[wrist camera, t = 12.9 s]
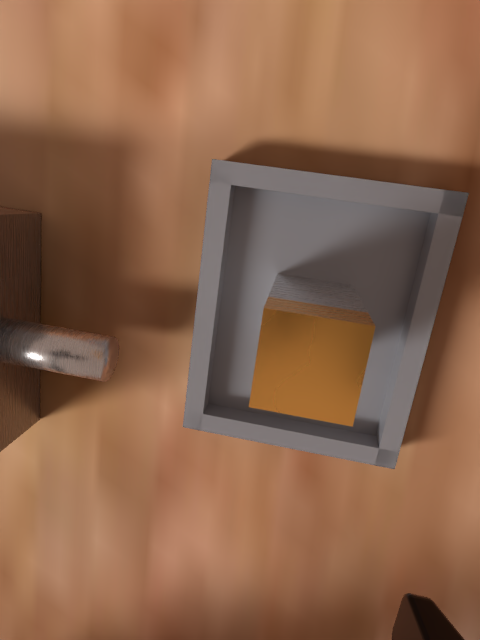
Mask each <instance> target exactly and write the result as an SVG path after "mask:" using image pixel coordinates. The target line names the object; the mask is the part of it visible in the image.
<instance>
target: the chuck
mask: <svg viewBox="0 0 480 640" xmlns="http://www.w3.org/2000/svg"><path fill="white" fill-rule="evenodd" d="M40 300H41V213H37V212H31V211H24V210H17V209H11V208H4V207H0V452H1V451H2V450H3V449H4V448H6V447H7V446H8V445H9V444H10V443H12V442H13V441H14V440H15V439H17V438H18V437H19V436H20V435H21V434H23V433H24V432H25V431H26V430H28V429H29V428H30V427H31V426H33V425H34V424H35V423H36V422H37V421H39V420H40V370H46V371H51V372H56V373H61V374H66V375H72V376H77V377H82V378H87V379H93V380H98V381H103V382H106V381H108V380H109V379H110V378H111V376H112V375H113V373H114V370H115V368H116V365H117V361H118V356H119V344H118V340H117V338H115V337H112V336H106V335H101V334H95V333H90V332H84V331H79V330H73V329H67V328H62V327H56V326H51V325H45V324H40Z"/></svg>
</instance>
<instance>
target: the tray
mask: <svg viewBox="0 0 480 640" xmlns="http://www.w3.org/2000/svg"><path fill="white" fill-rule="evenodd" d="M468 195H469V193H465V192H457V191H450V190H442V189H435V188H427V187H420V186H412V185H404V184H397V183H389V182H382V181H374V180H367V179H359V178H352V177H344V176H336V175H329V174H321V173H314V172H306V171H299V170H291V169H284V168H276V167H268V166H261V165H253V164H246V163H238V162H231V161H223V160H216V159H212V165H211V175H210V184H209V193H208V202H207V211H206V220H205V229H204V239H203V248H202V257H201V266H200V275H199V284H198V293H197V303H196V312H195V321H194V330H193V339H192V348H191V357H190V367H189V376H188V385H187V394H186V403H185V412H184V421H183V427H185V428H190V429H195V430H200V431H205V432H210V433H215V434H220V435H225V436H230V437H235V438H241V439H246V440H251V441H256V442H261V443H266V444H271V445H276V446H281V447H286V448H291V449H296V450H301V451H306V452H311V453H316V454H321V455H326V456H331V457H336V458H341V459H346V460H351V461H356V462H361V463H366V464H371V465H376V466H381V467H386V468H391V469H395V466H396V462H397V458H398V455H399V451H400V447H401V443H402V440H403V436H404V432H405V429H406V425H407V421H408V417H409V414H410V410H411V406H412V403H413V399H414V395H415V391H416V388H417V384H418V380H419V377H420V373H421V369H422V365H423V362H424V358H425V354H426V351H427V347H428V343H429V339H430V336H431V332H432V328H433V325H434V321H435V317H436V313H437V310H438V306H439V302H440V299H441V295H442V291H443V287H444V284H445V280H446V276H447V273H448V269H449V265H450V261H451V258H452V254H453V250H454V247H455V243H456V239H457V235H458V232H459V228H460V224H461V221H462V217H463V213H464V209H465V206H466V202H467V198H468ZM277 274H285V275H291V276H298V277H304V278H310V279H317V280H323V281H330V282H336V283H343V284H349V285H353V286H354V288H355V290H356V292H357V294H358V295H359V297H360V299H361V301H362V303H363V304H364V306H365V308H366V310H367V312H368V313H369V315H370V317H371V319H372V321H373V323H374V324H375V326H376V327H375V331H374V336H373V340H372V344H371V349H370V353H369V358H368V362H367V366H366V371H365V375H364V379H363V384H362V388H361V393H360V397H359V401H358V406H357V410H356V415H355V419H354V423H353V427H352V426H346V425H341V424H336V423H330V422H325V421H320V420H314V419H309V418H304V417H299V416H293V415H288V414H283V413H277V412H272V411H267V410H262V409H256V408H251V407H249V401H250V395H251V388H252V382H253V375H254V368H255V362H256V355H257V349H258V342H259V335H260V329H261V322H262V316H263V309H264V306H265V303H266V301H267V298H268V296H269V293H270V291H271V289H272V286H273V284H274V281H275V279H276V276H277Z"/></svg>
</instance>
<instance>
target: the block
mask: <svg viewBox="0 0 480 640" xmlns="http://www.w3.org/2000/svg"><path fill="white" fill-rule="evenodd" d="M375 327H376V326H375V324H374V323H373V321H372V319H371V317H370V315H369V313H368V312H367V310H366V308H365V306H364V304H363V303H362V301H361V299H360V297H359V295H358V294H357V292H356V290H355V288H354V286H353V285H349V284H343V283H336V282H330V281H323V280H317V279H310V278H304V277H298V276H291V275H285V274H277V276H276V279H275V281H274V284H273V286H272V289H271V291H270V293H269V296H268V298H267V301H266V303H265V306H264V309H263V316H262V322H261V329H260V335H259V342H258V349H257V355H256V362H255V368H254V375H253V382H252V388H251V395H250V401H249V407H251V408H256V409H262V410H267V411H272V412H277V413H283V414H288V415H293V416H299V417H304V418H309V419H314V420H320V421H325V422H330V423H336V424H341V425H346V426H352V427H353V423H354V419H355V415H356V410H357V406H358V401H359V397H360V393H361V388H362V384H363V379H364V375H365V371H366V366H367V362H368V358H369V353H370V349H371V344H372V340H373V336H374V331H375Z"/></svg>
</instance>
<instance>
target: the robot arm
mask: <svg viewBox="0 0 480 640" xmlns="http://www.w3.org/2000/svg"><path fill="white" fill-rule="evenodd" d="M392 640H464V639H463V637H462V636H461V635H460V634H459V633H458V631H457V630H456V629H455V628H454V626H453V625H452V624H451V623H450V621H449V620H448V619H447V618H446V616H445V615H444V614H443V613H442V612H441V610H440V609H439V608H438V607H437V605H436V604H435V603H434V602H433V601H432V600H431V599H430V598H427V597H424V596H419V595H415V594H411V593H408V594H405V595H404V597H403V599H402V601H401V605H400V608H399V611H398V614H397V618H396V621H395V624H394V627H393V632H392Z"/></svg>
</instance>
